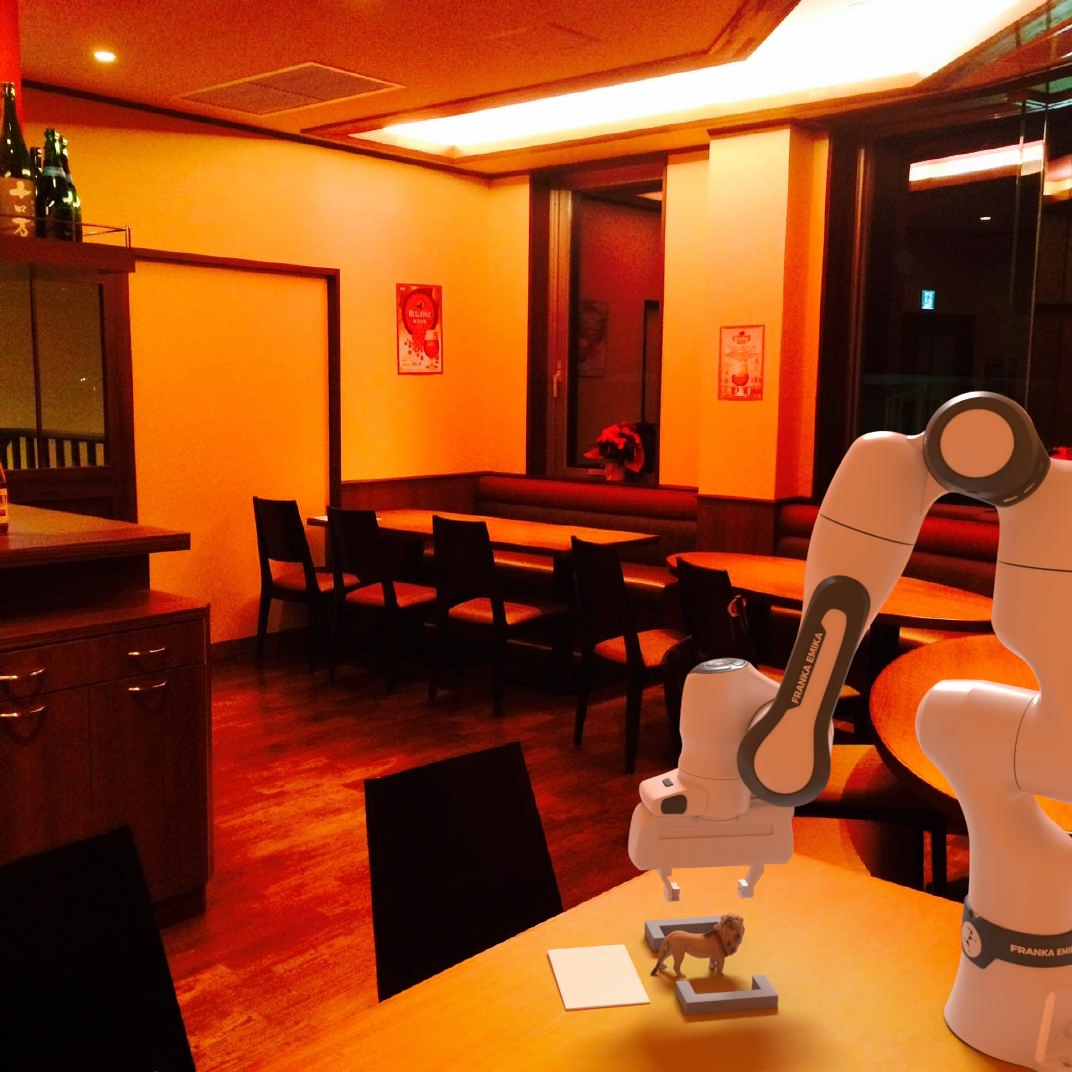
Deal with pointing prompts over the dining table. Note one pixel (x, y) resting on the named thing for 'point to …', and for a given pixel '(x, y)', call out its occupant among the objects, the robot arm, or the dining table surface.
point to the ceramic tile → (596, 977)
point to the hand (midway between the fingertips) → (708, 897)
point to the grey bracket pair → (711, 1002)
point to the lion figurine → (703, 944)
